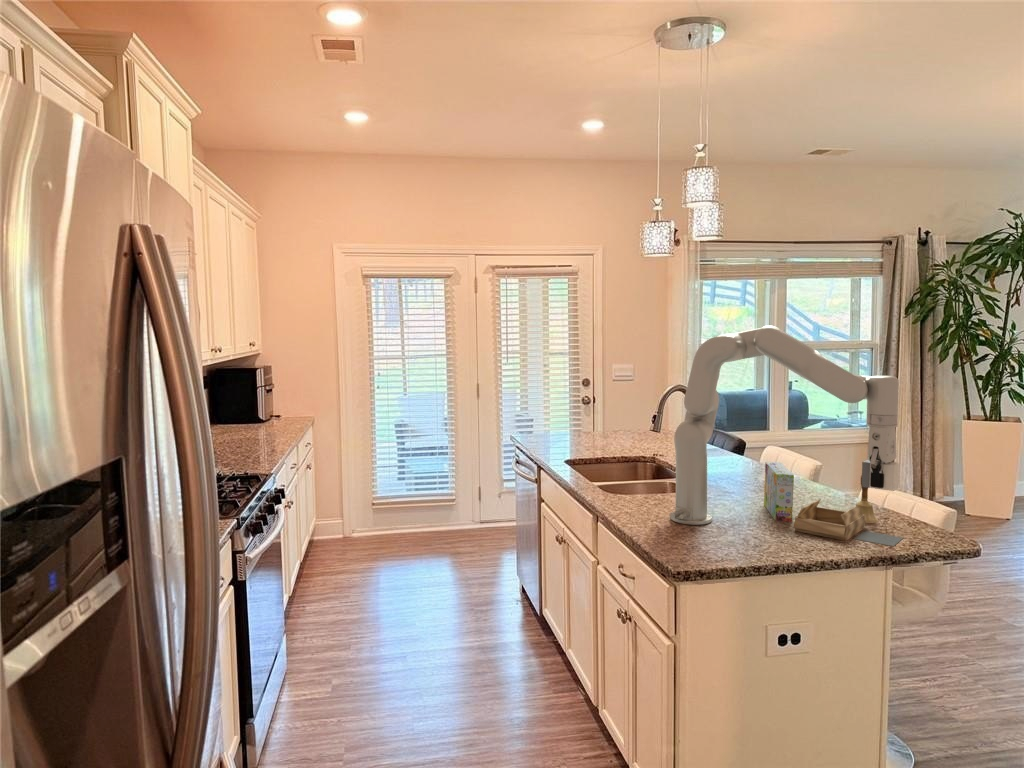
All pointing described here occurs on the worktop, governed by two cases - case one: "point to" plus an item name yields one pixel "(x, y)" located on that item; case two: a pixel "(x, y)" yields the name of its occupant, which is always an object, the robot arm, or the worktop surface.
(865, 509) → the hand bell
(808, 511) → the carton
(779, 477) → the snack box
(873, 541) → the slate mat
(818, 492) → the worktop surface
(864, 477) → the white box
